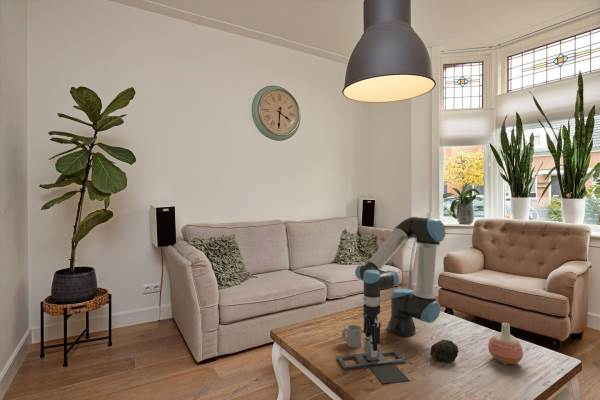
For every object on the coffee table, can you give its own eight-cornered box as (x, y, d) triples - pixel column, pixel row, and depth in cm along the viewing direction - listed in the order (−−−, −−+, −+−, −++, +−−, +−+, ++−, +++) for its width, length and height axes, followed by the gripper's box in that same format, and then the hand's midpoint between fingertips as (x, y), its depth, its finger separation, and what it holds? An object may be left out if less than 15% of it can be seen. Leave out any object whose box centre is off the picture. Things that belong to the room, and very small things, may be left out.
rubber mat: (395, 365, 146) (395, 364, 146) (409, 380, 135) (409, 379, 135) (370, 368, 144) (370, 367, 144) (382, 384, 132) (382, 383, 132)
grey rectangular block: (374, 354, 154) (374, 337, 153) (378, 359, 149) (379, 342, 148) (364, 355, 152) (364, 338, 152) (368, 360, 148) (368, 343, 147)
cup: (360, 349, 161) (360, 331, 161) (340, 346, 165) (340, 328, 164) (362, 342, 168) (362, 325, 168) (343, 339, 171) (343, 323, 171)
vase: (511, 372, 142) (512, 332, 141) (481, 358, 154) (482, 321, 153) (529, 365, 148) (530, 326, 147) (498, 351, 160) (499, 316, 159)
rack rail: (395, 352, 159) (395, 349, 158) (405, 363, 149) (405, 360, 149) (336, 358, 152) (336, 356, 152) (343, 370, 142) (344, 367, 142)
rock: (425, 355, 154) (429, 335, 154) (442, 353, 159) (446, 334, 158) (441, 367, 145) (446, 346, 144) (459, 366, 150) (464, 345, 149)
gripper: (356, 298, 158) (356, 345, 159) (372, 312, 140) (372, 364, 141) (370, 297, 159) (370, 343, 160) (388, 310, 142) (388, 362, 142)
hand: (371, 353), depth 151 cm, fingers closed on grey rectangular block, 5 cm apart
